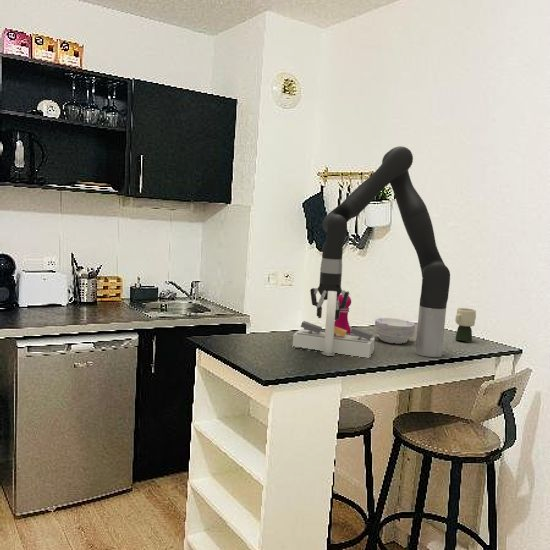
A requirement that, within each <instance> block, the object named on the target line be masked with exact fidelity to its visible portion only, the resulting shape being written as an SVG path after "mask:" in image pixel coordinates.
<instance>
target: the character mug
mask: <svg viewBox="0 0 550 550" xmlns="http://www.w3.org/2000/svg"><path fill="white" fill-rule="evenodd" d="M476 316H477V311H476V310H475V309H473V308H467V307H458V308H457V309H456V315H455V323H456V324H457V325H458V327H457V329H456V333H455V340H457V341H460V342H462V341H463V342H472V341H473V331H472V327H474V326H475V323H476V318H477V317H476Z"/></svg>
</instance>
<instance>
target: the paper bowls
mask: <svg viewBox="0 0 550 550" xmlns="http://www.w3.org/2000/svg"><path fill="white" fill-rule="evenodd" d="M415 328H416V323H414V322H413V321H410V320H408V319H407V320H406V319H403V318H395V317H377V318H376V319H375V320H374V333H375V334H377V335H378V337H379V339H380V340H381V341H383V342H384V343H387V342H388V343H389V344H393V343H395V344H396V345H400V344H401V345H402V343H403V344H405V343H407V342H408V341H409V339H410V338H411V339H412V337H414V335H415V331H416V329H415ZM388 343H387V344H388Z"/></svg>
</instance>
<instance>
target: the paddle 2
mask: <svg viewBox="0 0 550 550" xmlns="http://www.w3.org/2000/svg"><path fill="white" fill-rule="evenodd" d="M350 330H351V333H350V334H354V335H357V336H360V337H362V338H365V339H368V340H370V339H371V337H372V336H373V333H372V332H369V331H366V330H363V329H360V328H358V327H355V326H353V327H352V328H351V329H350Z"/></svg>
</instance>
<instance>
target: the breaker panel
mask: <svg viewBox="0 0 550 550" xmlns="http://www.w3.org/2000/svg"><path fill="white" fill-rule="evenodd" d="M292 335H293V337H292V347H293V346H295V347H302V348H308V349H315V350H320V351H324V341H325V330H321V332H320V333H316V332H313V331H311V330H308V329H305V328H300V329H299V330H297V331H296V332H294V333H293V334H292ZM375 340H376V338H375V337H371V339H370V340H368V339H365V338H362V337H360V336H357V335H354V334H351V333H350V334H346V335H345V336H344V337H343V336H340V335H338V334H335V333H334V339H333V353H338V354H345V355H351V356H350V357H353V356H359V357H358V358H360V357H367V358H369V357H370V358H371V356H372V355H373V353H374V352H373V351H375ZM338 354H337V355H338ZM371 354H372V355H371ZM345 355H344V356H345ZM367 358H366V359H367ZM370 358H369V359H370Z"/></svg>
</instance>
